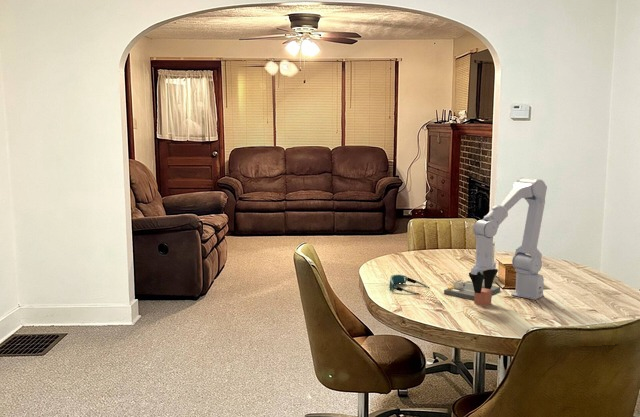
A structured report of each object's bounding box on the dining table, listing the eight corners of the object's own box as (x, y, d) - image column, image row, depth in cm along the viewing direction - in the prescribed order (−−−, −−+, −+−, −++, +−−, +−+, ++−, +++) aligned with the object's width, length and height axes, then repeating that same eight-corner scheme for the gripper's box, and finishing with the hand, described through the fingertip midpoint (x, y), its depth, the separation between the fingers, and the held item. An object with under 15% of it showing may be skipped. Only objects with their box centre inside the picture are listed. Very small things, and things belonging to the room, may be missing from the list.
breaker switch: (486, 285, 238) (486, 278, 237) (482, 286, 236) (482, 279, 235) (480, 284, 239) (481, 277, 239) (477, 285, 237) (477, 278, 237)
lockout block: (491, 303, 220) (491, 289, 220) (485, 306, 217) (485, 292, 216) (480, 301, 223) (480, 287, 223) (474, 303, 220) (474, 290, 219)
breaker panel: (500, 290, 236) (500, 284, 236) (477, 300, 223) (477, 294, 223) (467, 284, 246) (468, 278, 245) (444, 293, 233) (444, 287, 232)
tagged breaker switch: (462, 287, 235) (463, 280, 234) (458, 289, 233) (459, 282, 232) (457, 286, 236) (457, 279, 236) (453, 288, 234) (453, 280, 234)
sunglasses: (397, 282, 250) (398, 271, 249) (431, 292, 243) (433, 280, 242) (382, 291, 238) (384, 278, 237) (418, 301, 231) (419, 288, 230)
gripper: (484, 258, 210) (483, 296, 211) (504, 252, 220) (502, 288, 222) (466, 255, 214) (465, 293, 216) (486, 249, 225) (484, 285, 227)
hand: (482, 290), depth 219 cm, fingers open, 7 cm apart
